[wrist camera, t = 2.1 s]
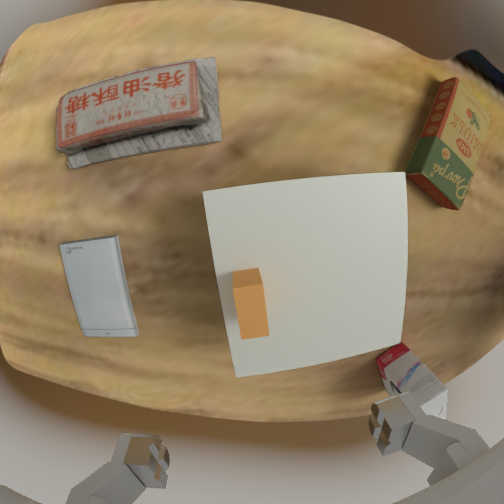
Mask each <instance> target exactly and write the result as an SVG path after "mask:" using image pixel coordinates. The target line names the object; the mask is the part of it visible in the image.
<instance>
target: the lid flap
mask: <svg viewBox="0 0 504 504" xmlns="http://www.w3.org/2000/svg"><path fill="white" fill-rule="evenodd" d="M203 199H204V205H205V212H206V218H207V224H208V231H209V237H210V243H211V249H212V255H213V261H214V266H215V272H216V278H217V283H218V289H219V294H220V299H221V305H222V310H223V315H224V320H225V326H226V331H227V336H228V341H229V345H230V350H231V355H232V360H233V365H234V369H235V374H236V378H237V377H245V376H253V375H260V374H267V373H273V372H279V371H285V370H291V369H297V368H302V367H307V366H312V365H317V364H322V363H326V362H331V361H335V360H339V359H344V358H348V357H352V356H356V355H360V354H364V353H367V352H371V351H375V350H378V349H382V348H385V347H389V346H392V345H395V344H398V343H400V341H401V334H402V326H403V317H404V308H405V296H406V282H407V261H408V212H407V191H406V177H405V172H384V173H365V174H349V175H336V176H323V177H312V178H302V179H292V180H283V181H274V182H266V183H258V184H250V185H242V186H235V187H228V188H221V189H215V190H208V191H203Z"/></svg>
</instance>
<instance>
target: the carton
mask: <svg viewBox="0 0 504 504" xmlns="http://www.w3.org/2000/svg"><path fill="white" fill-rule="evenodd" d="M490 118H491V116H490V114H489V113H488V112H487V110H486V109H485V108H484V106H483V105H482V104H481V103H480V102H479V100H478V99H477V98H476V97H475V96H474V95H473V94H472V92H471V91H470V90H469V89H468V88H467V87H466V86H465V85H464V84H463V83H462V82H461V81H460V80H459V79H458V78H457V77H454V78H450V79H448V80H445V81H443V82H441V83H440V85H439V88H438V90H437V93H436V96H435V98H434V101H433V104H432V106H431V109H430V112H429V114H428V117H427V119H426V122H425V124H424V127H423V129H422V131H421V134H420V136H419V138H418V141H417V143H416V145H415V148H414V150H413V152H412V154H411V156H410V158H409V161H408V163H407V165H406V167H405V168H404V172H405V176H407V177H408V178H409V179H410V180H412V181H413V182H414V183H415V184H416V185H418V186H419V187H420V188H421V189H422V190H424V191H425V192H426V193H427V194H428V195H430V196H431V197H432V198H433V199H434V200H435V201H436V202H437V203H439V204H440V205H441V206H442V207H444V208H448V209H452V210H459V209H460V208H461V206H462V204H463V201H464V199H465V196H466V194H467V191H468V188H469V186H470V183H471V180H472V177H473V175H474V172H475V169H476V166H477V163H478V160H479V157H480V154H481V151H482V147H483V144H484V140H485V137H486V133H487V130H488V126H489V122H490Z"/></svg>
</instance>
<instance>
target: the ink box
mask: <svg viewBox="0 0 504 504" xmlns="http://www.w3.org/2000/svg"><path fill="white" fill-rule="evenodd" d="M376 360H377V364H378V367H379V370H380V373H381V376H382V380H383V383H384V386H385V389H386V392H387V393H388V394H389V396H390V397H392V396H394V395H398V394H401V393H403V392H406V391H407V392H409V393H410V394H411V395H412V397H413V398H414V399H415V401H416V402H417V403H418V404H419V406H420V407H421V408H422V410H423V411H424V412H425V414H426V415H427V416H428V415H433V416H436V417H438V418H441V419H444V420H445V419H446V413H447V397H448V395H447V393H448V390H447V388H446V386H445V385H444V384H443V383H442V382H441V381H440V380H439V379H438V378H437V377H436V376H435V375H434V374H433V373H432V372H431V371H430V370H429V369H428V368H427V367H426V366H425V364H424V363H423V362H422V361H421V360H420V359H419V358H418V357H417V356H416V355H415V354H414V353H413V352H412V351H411V350H410V349H409V348H408V347H407V346H406V345H404V344H403V343H402V342H400V343H398V344H397V345H395V346H394V347H392V348H391V349H389V350H388V351H386V352H385V353H383V354H382V355H381V356H379V357H378V358H376Z"/></svg>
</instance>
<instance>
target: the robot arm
mask: <svg viewBox="0 0 504 504" xmlns="http://www.w3.org/2000/svg"><path fill="white" fill-rule="evenodd" d="M371 411H372V414H371V416H370V417H369V429H370V432H371V434H372V437H374V438H376V439H378V442H377V446H378V448H379V450H380V452H381V454H382V456H385V455H388V454H391V453H393V452H396V451H398V450H401V449H402V451H404V452H406V453H407V454H409V455H411V456H413V457H414V458H416V459H418V460H420V461H422V462H423V463H425V464H427V465H429V466H431V467H433V468H434V470H433V471H432V473H431V474H430V476H429V477H428V479H427V481H428V483H429V485H430V486H429V487H428V488H426V489H424V490H422V491H420V492H418V493H415V494H413V495H411V496H409V497H407V498H405V499H402V500H401V501H398V502H395V503H393V504H504V438H503V439H502V440H501V441H499V442H498V443H497V444H496V445H494V446H493V447H492V448H489V447H488V445H487V444H486V443H485V441H484V440H483V439H482V438H481V436H480V435H479V434H478V433H477V432H476V430H474V429H471V428H468V427H465V426H462V425H459V424H456V423H453V422H449V421H447V420H444V419H441V418H438V417H436V416H433V415H428V416H427V415H426V414H425V412H424V411H423V410H422V408H421V407H420V406H419V404H418V403H417V402H416V401H415V399H414V398H413V397H412V395H411V394H410V393H409V392H407V391H406V392H403V393H401V394H398V395H394V396H392V397H389V398H386V399H383V400H381V401H378V402H375V403H373V404H372V406H371ZM161 442H162V440H161V438H160V437H159V435H144V434H143V435H142V434H131V433H122V434H121V435H120V437H119V440H118V443H117V446H116V449H115V452H114V455H113V458H112V461H111V462H107V463H106V464H105V465H103V466H102V467H101V468H99V469H98V470H97V471H95V472H94V473H93V474H91V475H90V476H89V477H87V478H86V479H85V480H84V481H82V482H81V483H79V484H78V485H76V486H75V487H74V488H72V489H71V491H70V494H69V496H68V499H67V502H66V504H132V503H133V502H134V501H135V500H136V499H137V498H138V497H139V496H140V495H141V493H142V492H143V491H144V490H145V489H146V488H145V487H148V488H164V489H165V488H166V483H167V477H168V476H167V475H166V473H165V470H167V469H168V468H169V463H170V459H169V453H168V450H167V449H166V447H165V446H163V445H162V444H161ZM0 504H41V503H38V502H36V501H34V500H32V499H30V498H28V497H26V496H23V495H21V494H19V493H17V492H15V491H14V490H12V489H10V488H8V487H6V486H3V485H0Z"/></svg>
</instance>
